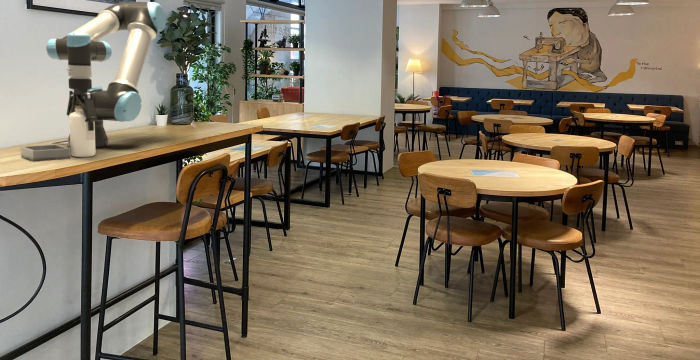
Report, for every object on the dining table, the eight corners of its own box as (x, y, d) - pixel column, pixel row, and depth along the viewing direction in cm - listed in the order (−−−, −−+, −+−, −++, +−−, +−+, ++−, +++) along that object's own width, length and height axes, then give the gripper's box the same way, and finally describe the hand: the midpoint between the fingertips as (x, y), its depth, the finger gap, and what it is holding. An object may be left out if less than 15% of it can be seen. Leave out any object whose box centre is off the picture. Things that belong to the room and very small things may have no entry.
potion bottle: (77, 153, 233) (75, 104, 229) (99, 154, 232) (97, 105, 229) (66, 157, 224) (64, 106, 221) (89, 158, 224) (87, 107, 221)
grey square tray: (56, 153, 230) (56, 144, 230) (69, 158, 222) (69, 148, 221) (21, 156, 222) (20, 146, 221) (33, 161, 214) (33, 151, 213)
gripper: (55, 76, 229) (57, 134, 233) (84, 79, 212) (86, 142, 216) (76, 76, 234) (78, 133, 238) (106, 79, 217) (107, 141, 221)
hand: (82, 138), depth 227 cm, fingers open, 13 cm apart
